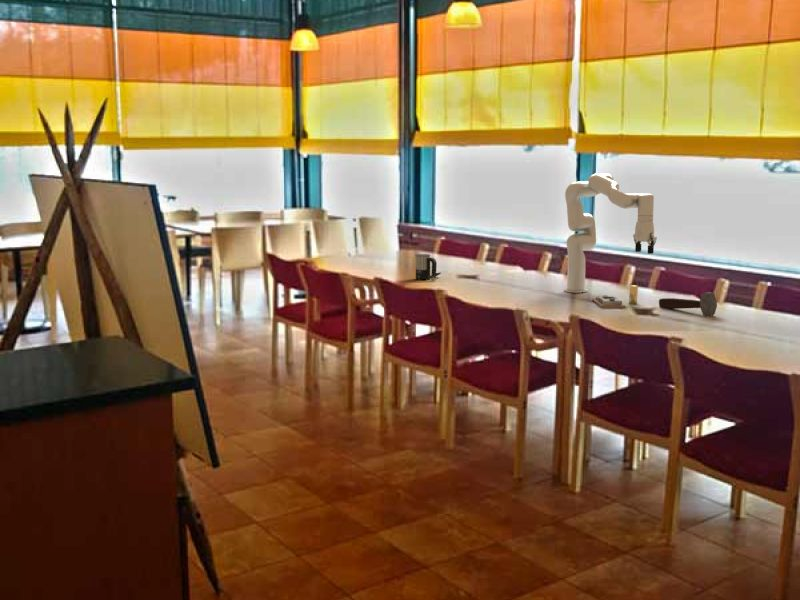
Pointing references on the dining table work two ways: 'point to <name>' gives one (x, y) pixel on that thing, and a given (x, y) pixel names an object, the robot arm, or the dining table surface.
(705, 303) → the hammer
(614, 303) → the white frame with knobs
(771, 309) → the dining table surface
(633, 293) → the pin
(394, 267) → the dining table surface
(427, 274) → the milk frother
